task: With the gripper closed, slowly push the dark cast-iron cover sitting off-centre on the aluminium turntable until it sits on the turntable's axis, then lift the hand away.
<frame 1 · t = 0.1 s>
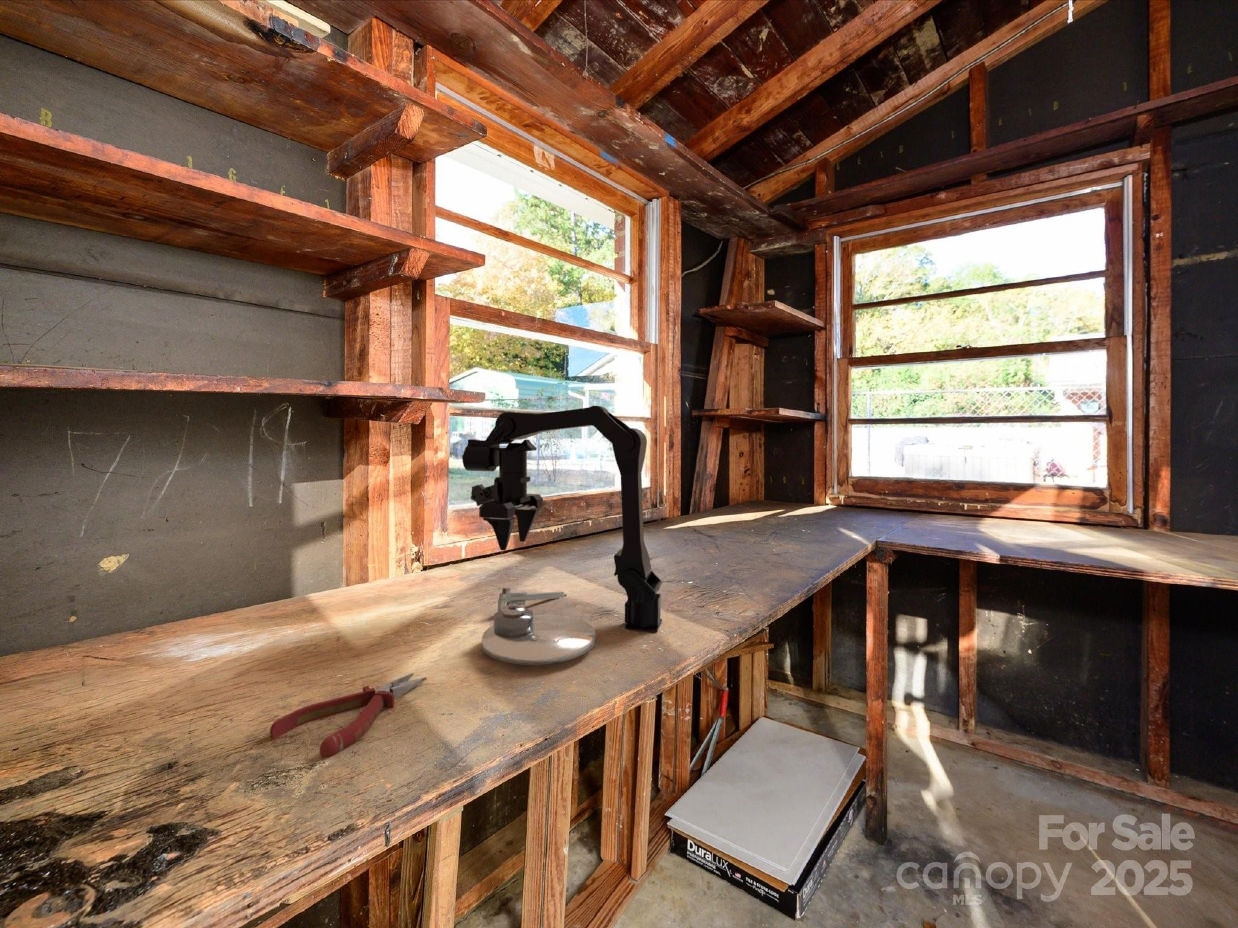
hand: (513, 545, 115), 15 cm above the workbench, tool pointing down, fingers open, 9 cm apart
turntable: (539, 636, 97), point 2 cm above the workbench, hinge at 0.0°, touching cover
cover: (513, 630, 98), point 3 cm above the workbench, touching turntable
caliper: (534, 607, 121), on the workbench
pliers: (365, 721, 73), on the workbench
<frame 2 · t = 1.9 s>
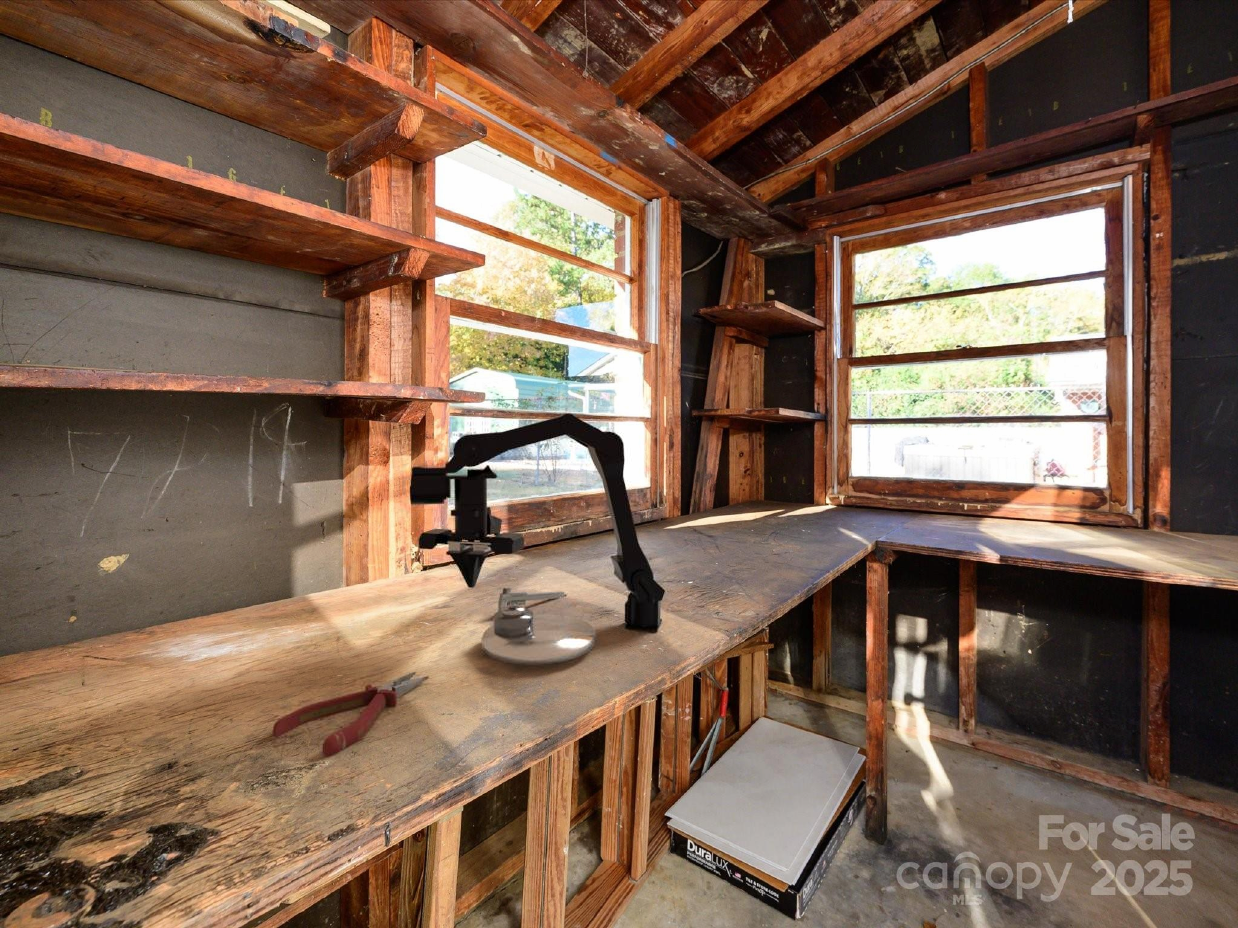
hand: (471, 587, 100), 10 cm above the workbench, tool pointing down, fingers closed
nothing on the workbench moved.
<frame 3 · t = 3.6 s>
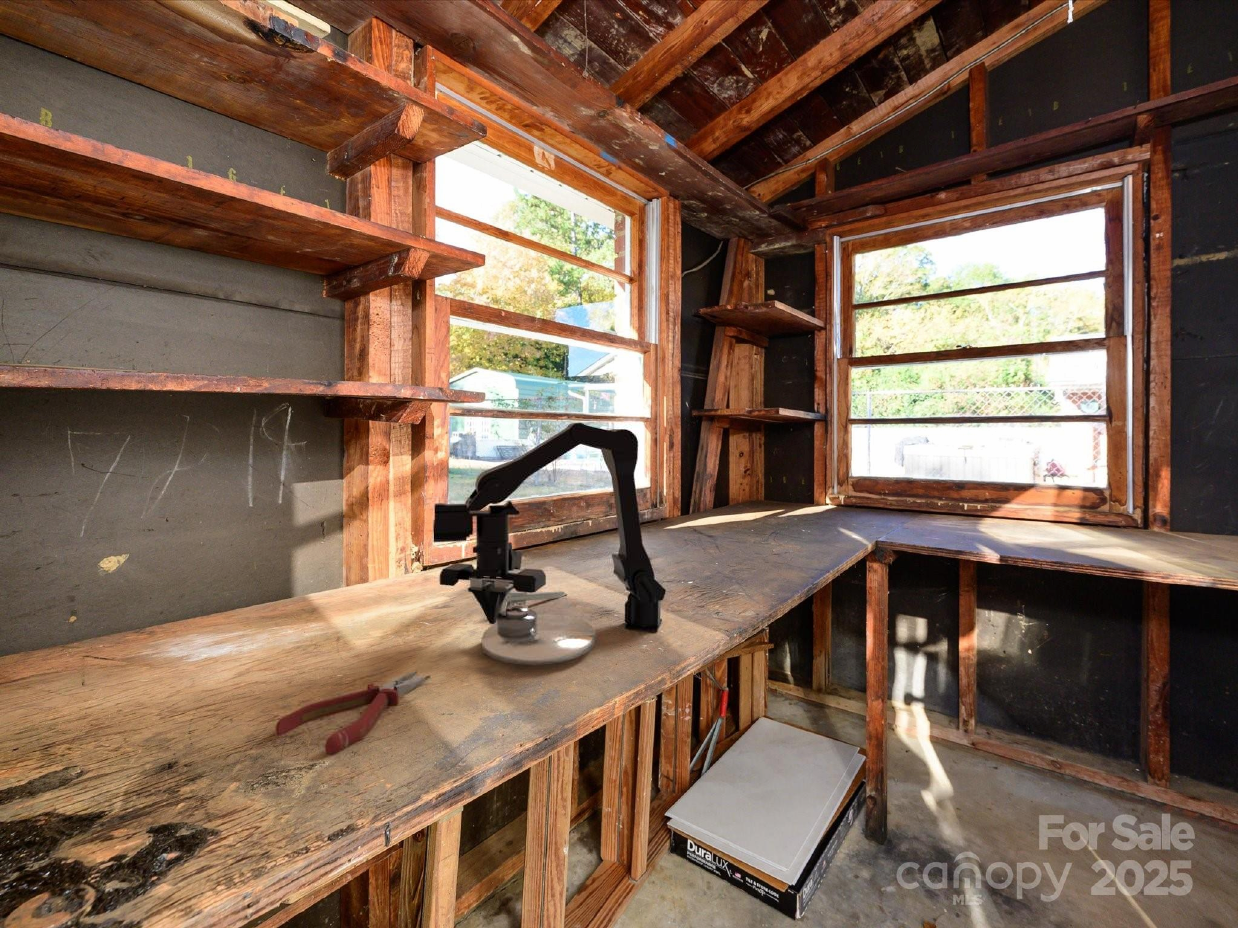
hand: (492, 623, 99), 4 cm above the workbench, tool pointing down, fingers closed
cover: (517, 630, 98), point 3 cm above the workbench, touching gripper, turntable
everything else where it was.
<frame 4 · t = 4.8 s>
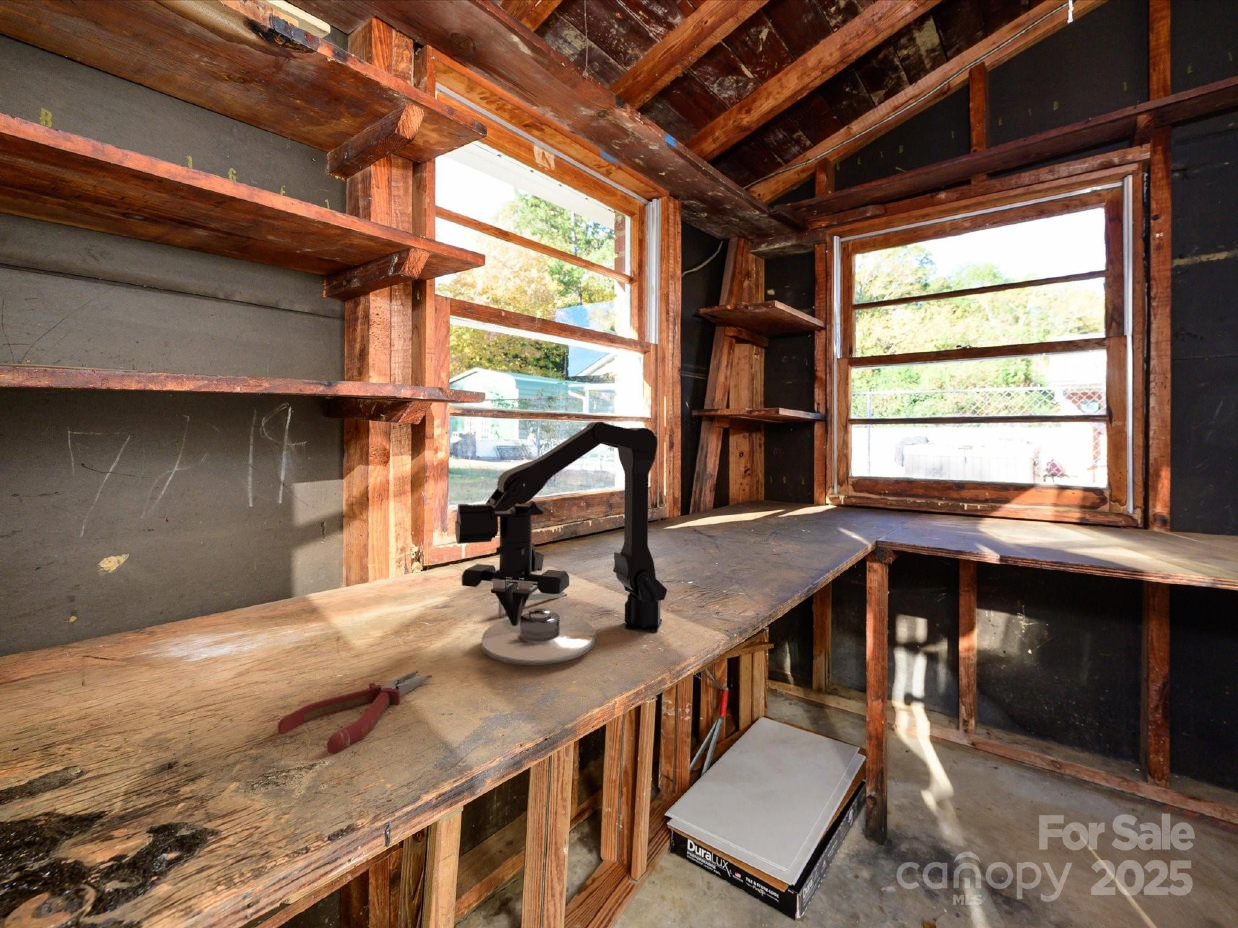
hand: (515, 624, 98), 4 cm above the workbench, tool pointing down, fingers closed
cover: (540, 633, 97), point 3 cm above the workbench, touching turntable
everything else where it was.
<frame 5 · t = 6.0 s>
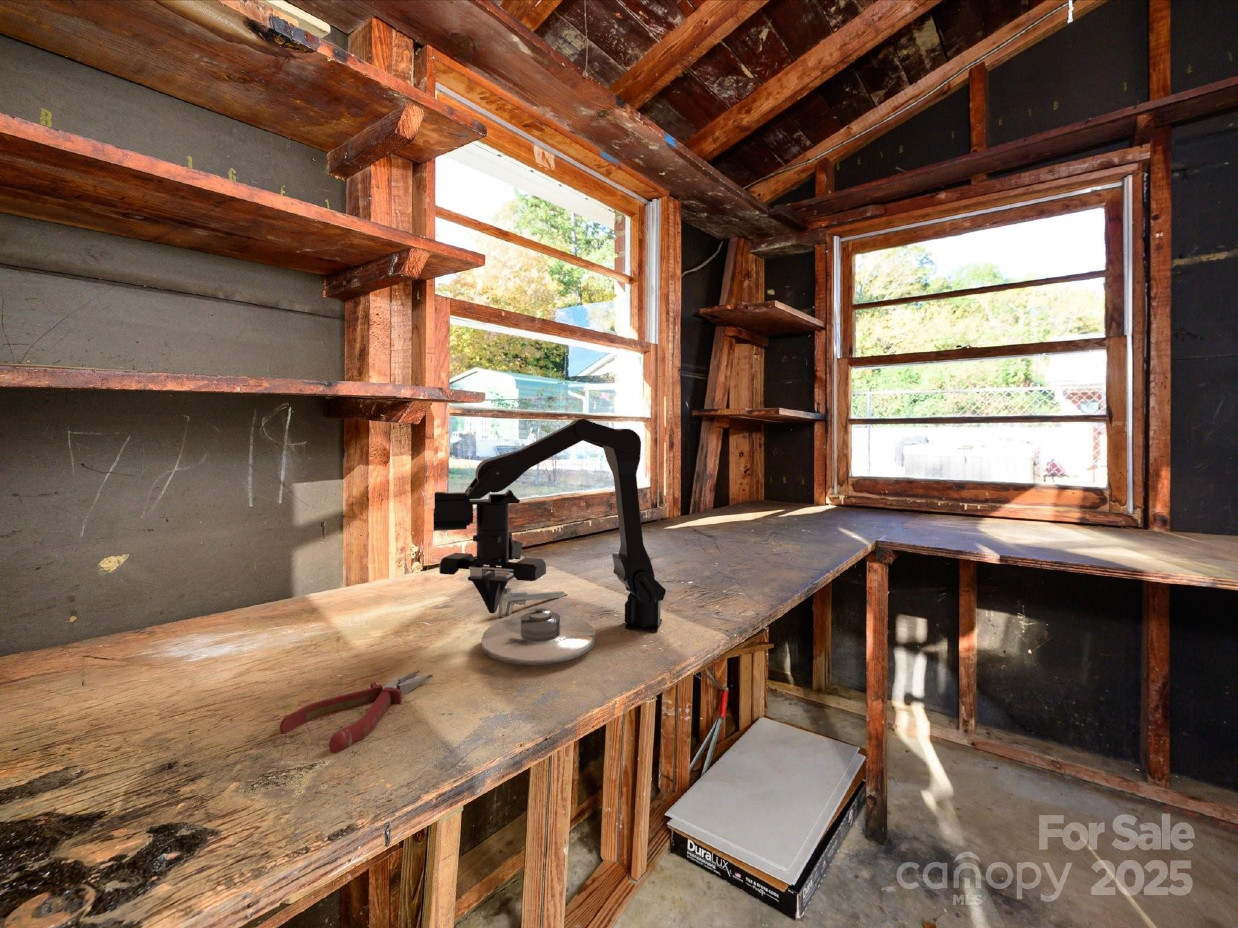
hand: (492, 612, 99), 6 cm above the workbench, tool pointing down, fingers closed
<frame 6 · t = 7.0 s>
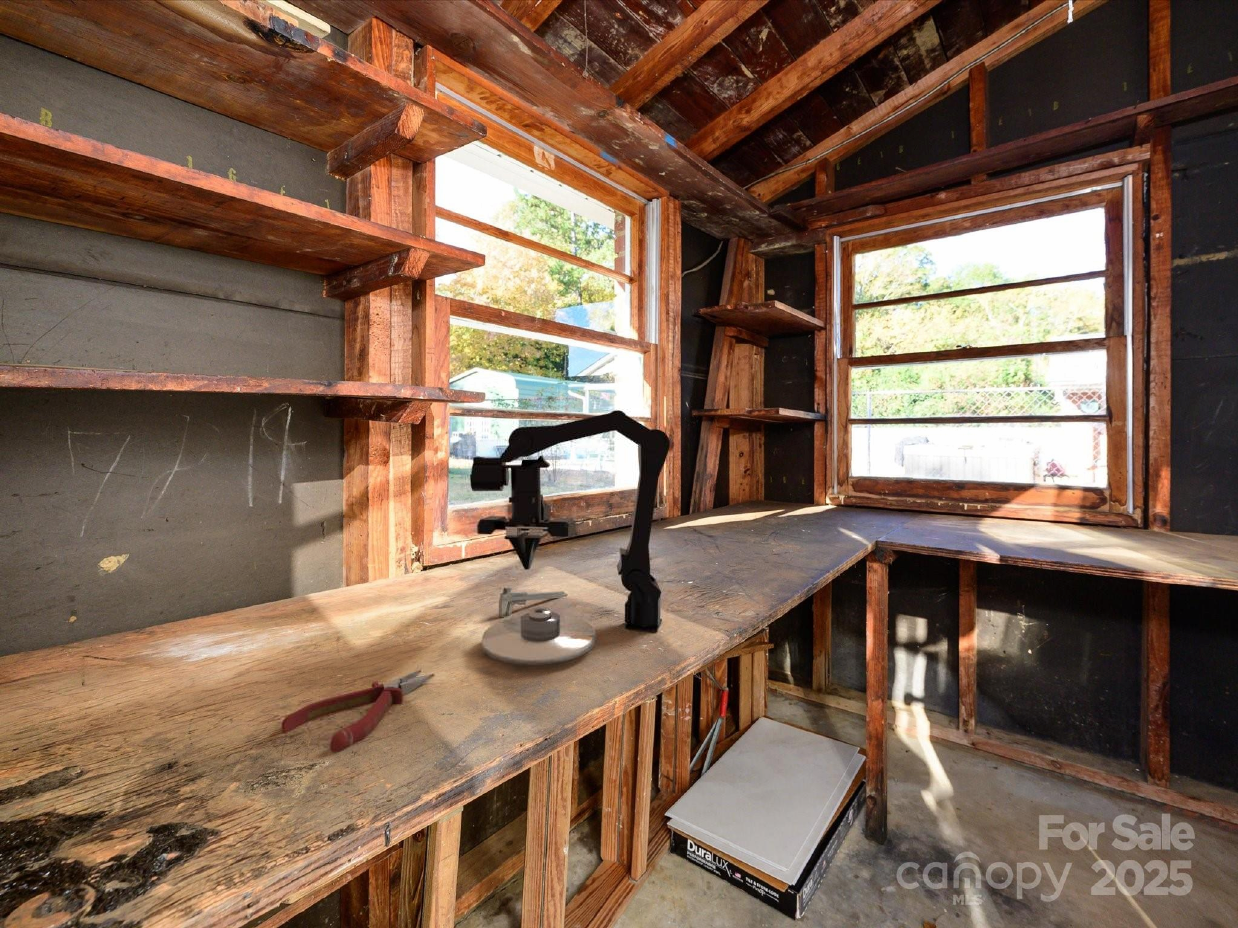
hand: (527, 569, 107), 12 cm above the workbench, tool pointing down, fingers closed
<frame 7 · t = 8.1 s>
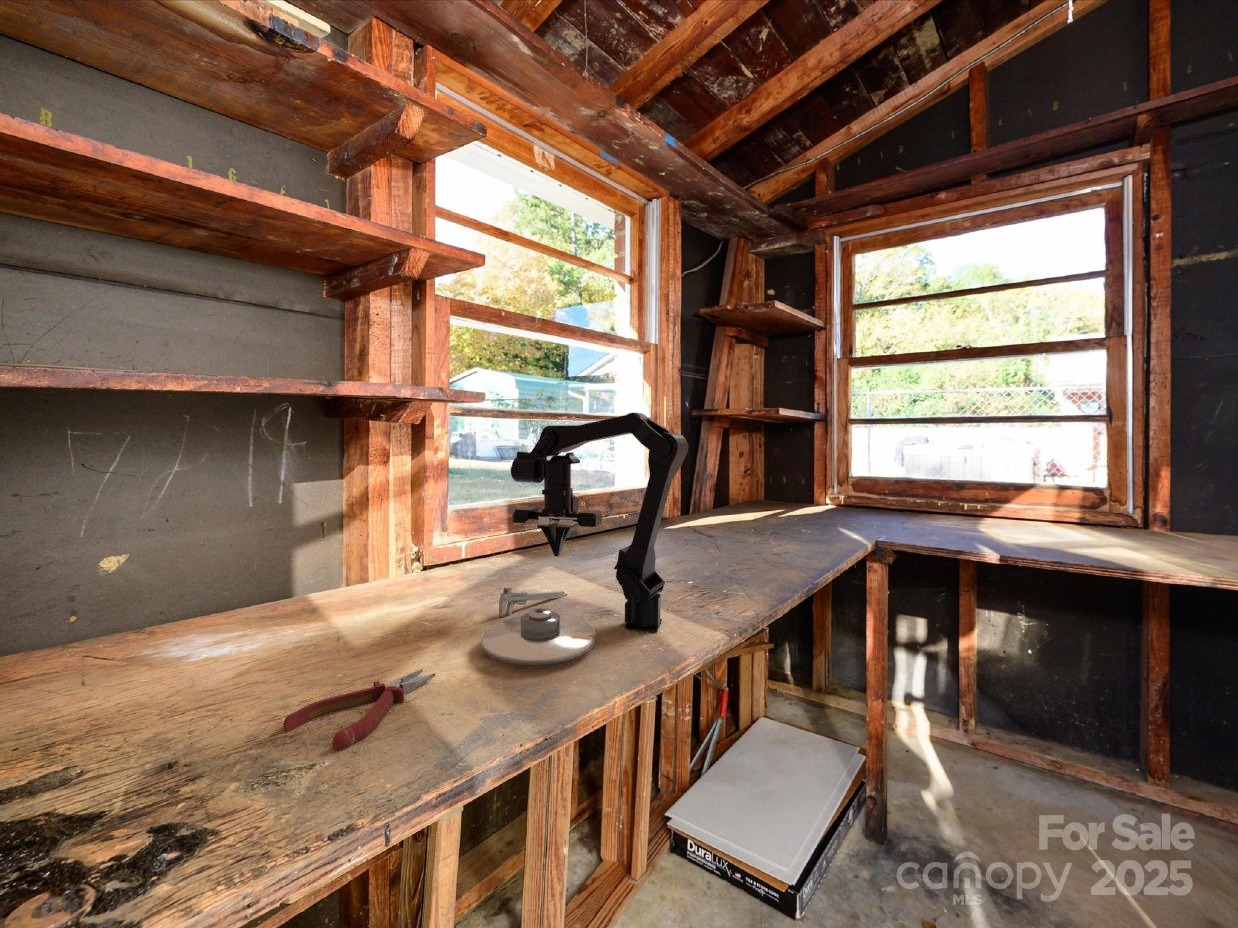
hand: (557, 556, 117), 12 cm above the workbench, tool pointing down, fingers closed
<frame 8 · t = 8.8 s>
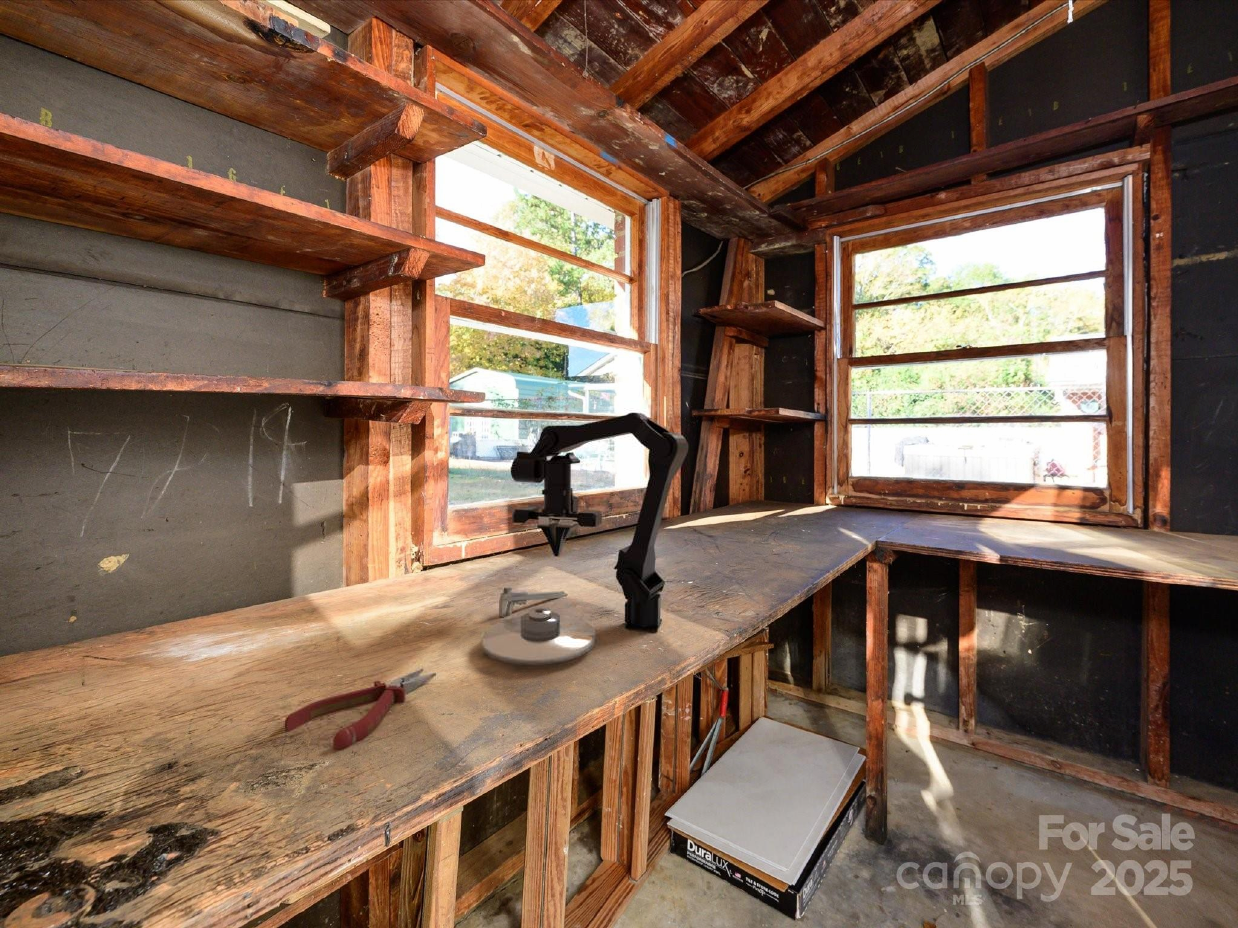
hand: (557, 556, 117), 12 cm above the workbench, tool pointing down, fingers closed
at the end: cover 0.3 cm from the turntable (horizontally); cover touching turntable; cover tilted 0° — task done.
